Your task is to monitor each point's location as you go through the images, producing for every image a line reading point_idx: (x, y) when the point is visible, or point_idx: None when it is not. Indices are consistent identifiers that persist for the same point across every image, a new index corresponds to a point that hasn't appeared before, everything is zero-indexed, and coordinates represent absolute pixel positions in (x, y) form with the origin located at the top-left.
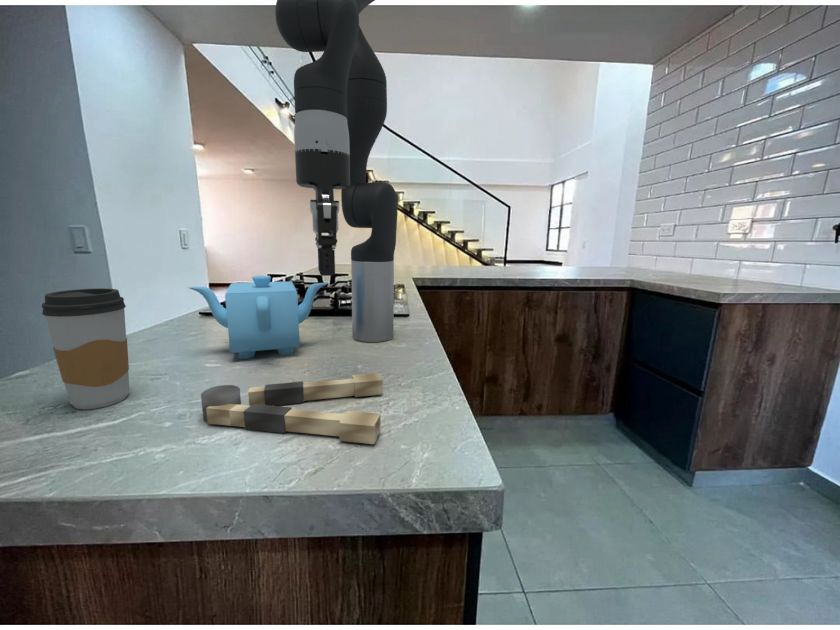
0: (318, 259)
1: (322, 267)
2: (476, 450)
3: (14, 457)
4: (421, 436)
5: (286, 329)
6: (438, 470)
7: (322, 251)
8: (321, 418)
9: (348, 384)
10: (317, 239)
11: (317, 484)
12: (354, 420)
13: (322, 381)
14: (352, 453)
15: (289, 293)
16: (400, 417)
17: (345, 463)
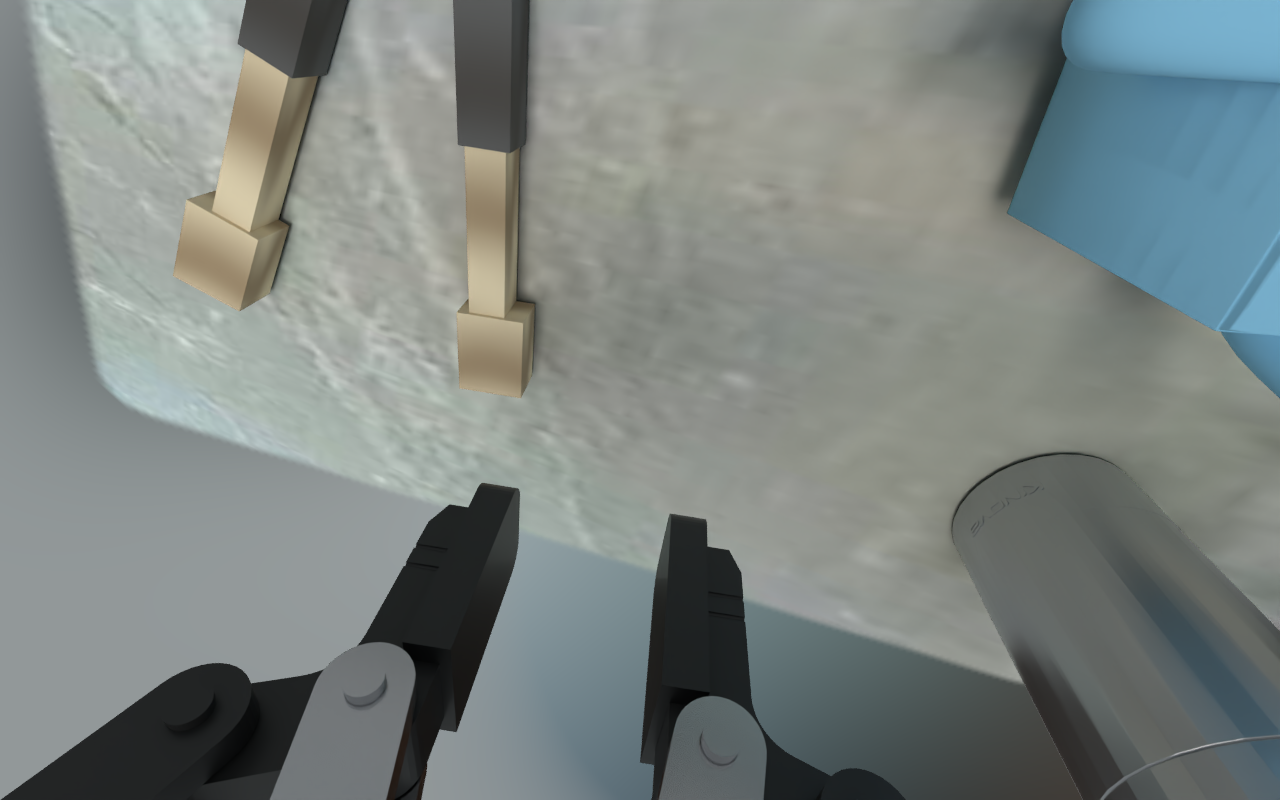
0: (665, 590)
1: (429, 528)
2: (202, 425)
3: None
4: (256, 363)
5: (1087, 170)
6: (132, 339)
7: (365, 643)
8: (226, 159)
9: (469, 293)
10: (162, 719)
11: (58, 97)
12: (200, 241)
13: (502, 220)
14: (184, 204)
15: (1243, 271)
16: (347, 358)
17: (143, 177)
